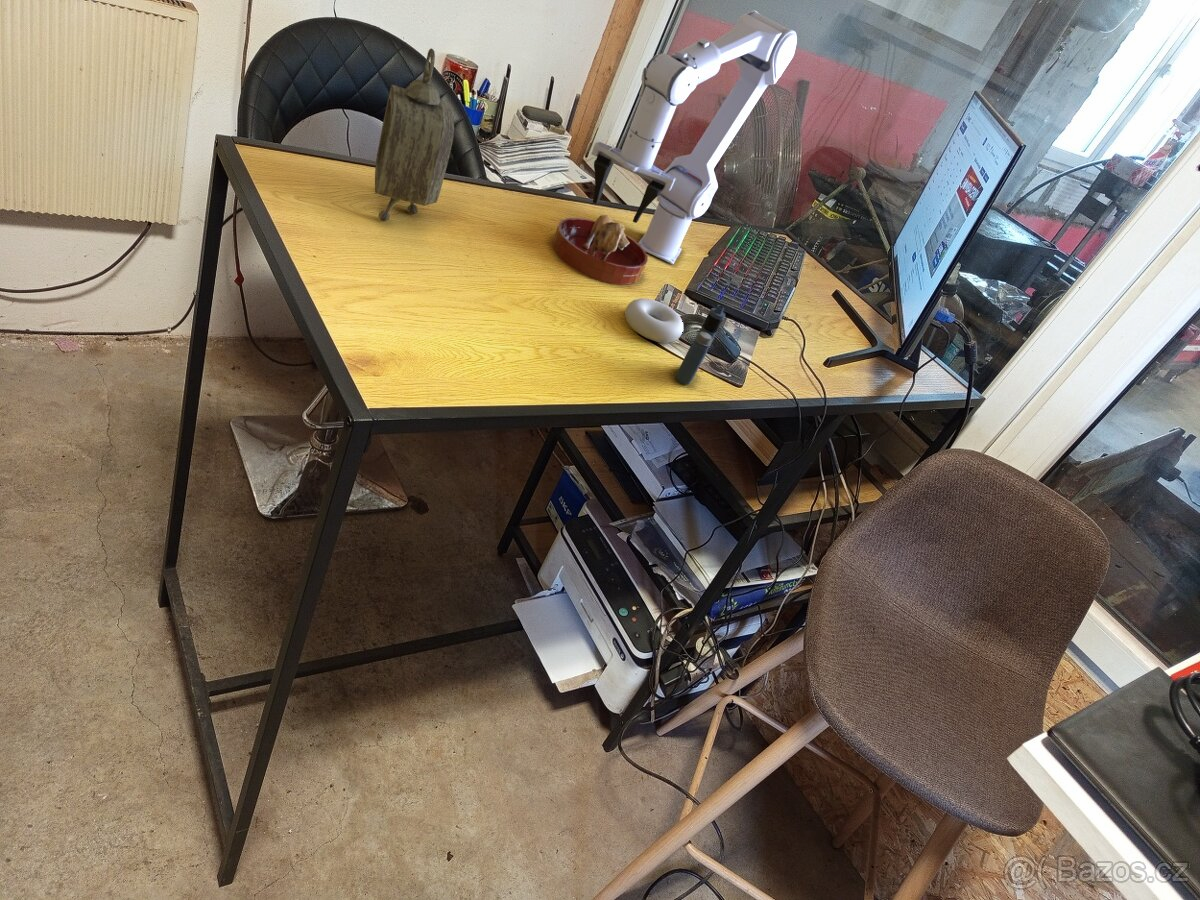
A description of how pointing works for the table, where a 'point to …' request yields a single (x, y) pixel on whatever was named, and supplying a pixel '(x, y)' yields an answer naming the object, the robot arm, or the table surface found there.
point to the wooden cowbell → (414, 144)
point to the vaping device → (700, 345)
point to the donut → (654, 320)
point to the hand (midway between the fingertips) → (615, 211)
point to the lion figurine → (606, 237)
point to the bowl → (597, 254)
